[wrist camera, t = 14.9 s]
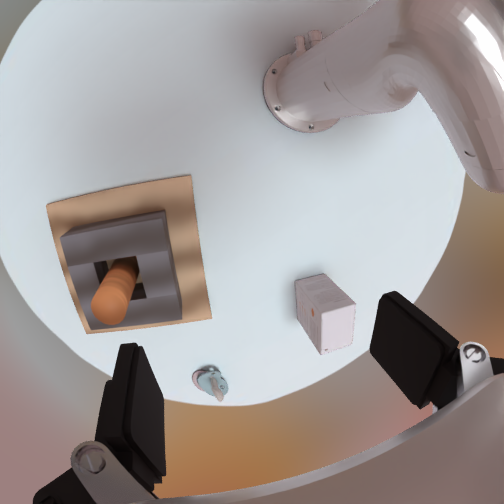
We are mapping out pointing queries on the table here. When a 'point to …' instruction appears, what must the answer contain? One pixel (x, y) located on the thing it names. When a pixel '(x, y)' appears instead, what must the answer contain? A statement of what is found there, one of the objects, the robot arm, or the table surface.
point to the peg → (116, 291)
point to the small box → (325, 313)
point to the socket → (134, 251)
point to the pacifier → (211, 383)
